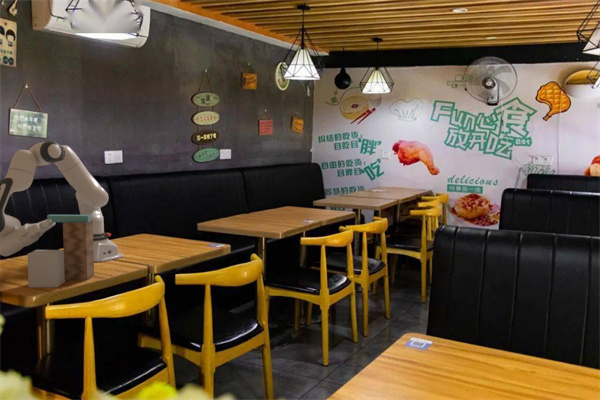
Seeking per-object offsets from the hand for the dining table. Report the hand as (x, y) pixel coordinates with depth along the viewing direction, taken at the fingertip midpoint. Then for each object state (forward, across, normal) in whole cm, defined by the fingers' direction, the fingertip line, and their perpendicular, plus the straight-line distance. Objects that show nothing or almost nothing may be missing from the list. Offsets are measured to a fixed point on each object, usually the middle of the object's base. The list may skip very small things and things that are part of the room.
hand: (55, 218), depth 253 cm
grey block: (-14, -12, +24) cm, 30 cm away
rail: (+5, 0, +4) cm, 6 cm away
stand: (-5, 0, +29) cm, 29 cm away
